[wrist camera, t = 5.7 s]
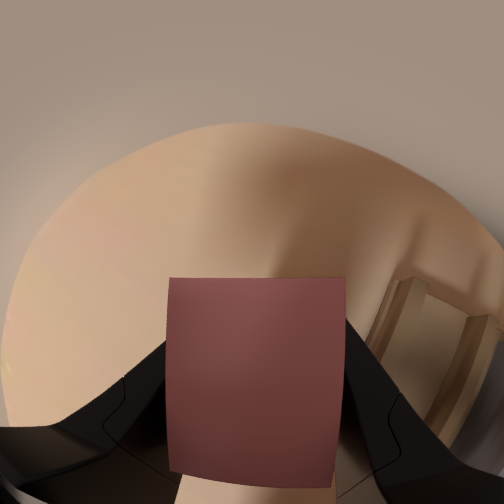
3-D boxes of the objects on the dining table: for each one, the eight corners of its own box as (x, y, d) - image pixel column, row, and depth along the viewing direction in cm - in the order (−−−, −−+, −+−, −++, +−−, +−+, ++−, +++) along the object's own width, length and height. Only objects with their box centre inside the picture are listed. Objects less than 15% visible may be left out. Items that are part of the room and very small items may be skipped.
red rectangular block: (313, 387, 13) (330, 486, 4) (249, 386, 14) (169, 470, 4) (315, 307, 14) (344, 277, 5) (251, 307, 15) (169, 277, 6)
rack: (447, 467, 11) (491, 507, 4) (316, 433, 14) (322, 493, 7) (507, 339, 12) (570, 335, 6) (390, 281, 15) (442, 252, 9)
